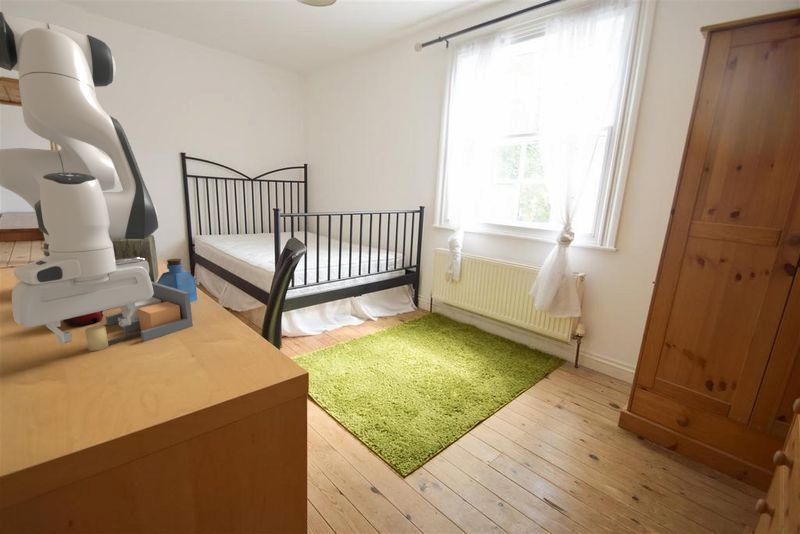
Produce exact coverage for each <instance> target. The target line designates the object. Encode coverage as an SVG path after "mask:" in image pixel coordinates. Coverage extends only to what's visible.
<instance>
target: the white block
mask: <svg viewBox="0 0 800 534" xmlns="http://www.w3.org/2000/svg"><path fill="white" fill-rule="evenodd" d="M159 303H161V300H159V299H156V298H153V297H152V298H151V299H150V300H146V301H141V302H137V303H135V307H136V308H135V310H134V312H133V314H132V316H131V317H130V318H131V321H133V320H137V319H139V314H138V309H139V308H143V307H147V306H151V305H155V304H159ZM120 309H121V312H122V315H123V313H124V311H125V309H126V308H123V306H120Z"/></svg>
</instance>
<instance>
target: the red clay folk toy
mask: <svg viewBox="0 0 800 534" xmlns="http://www.w3.org/2000/svg"><path fill="white" fill-rule="evenodd" d="M103 313H104V310H103V311H99V312H94V313H90V314H86V315H82V316H77V317H73V318H69V319H65V320H62V321H63V324H65V325H67V326H84V325H90V324H93V323H98V322H99V323H100V322H101V321H102V320H103V318H104V314H103Z"/></svg>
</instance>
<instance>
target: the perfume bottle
mask: <svg viewBox="0 0 800 534" xmlns="http://www.w3.org/2000/svg"><path fill="white" fill-rule="evenodd" d="M166 261H167V264H166V269H167V270H168V271H167V272H162V274H161V276H160V277H158V279H157V281H156V283H159V284H162V285H166V286H169V287H172V288H176V289H179V290H182V291H186V292H189V295H190V303H191V302H193V301H196V300H198V292H197V283H196V278H195V277H194V276H193V274H191V272H189V271H188V270H182V268H183V263H182V258H169V259H167V260H166ZM196 302H197V301H196ZM193 303H194V302H193ZM191 304H192V303H191Z"/></svg>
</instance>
